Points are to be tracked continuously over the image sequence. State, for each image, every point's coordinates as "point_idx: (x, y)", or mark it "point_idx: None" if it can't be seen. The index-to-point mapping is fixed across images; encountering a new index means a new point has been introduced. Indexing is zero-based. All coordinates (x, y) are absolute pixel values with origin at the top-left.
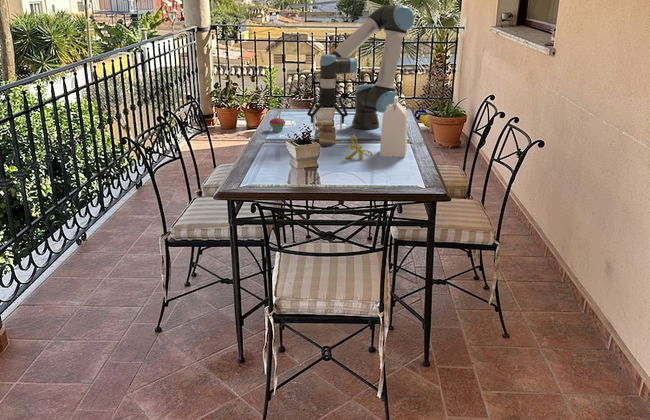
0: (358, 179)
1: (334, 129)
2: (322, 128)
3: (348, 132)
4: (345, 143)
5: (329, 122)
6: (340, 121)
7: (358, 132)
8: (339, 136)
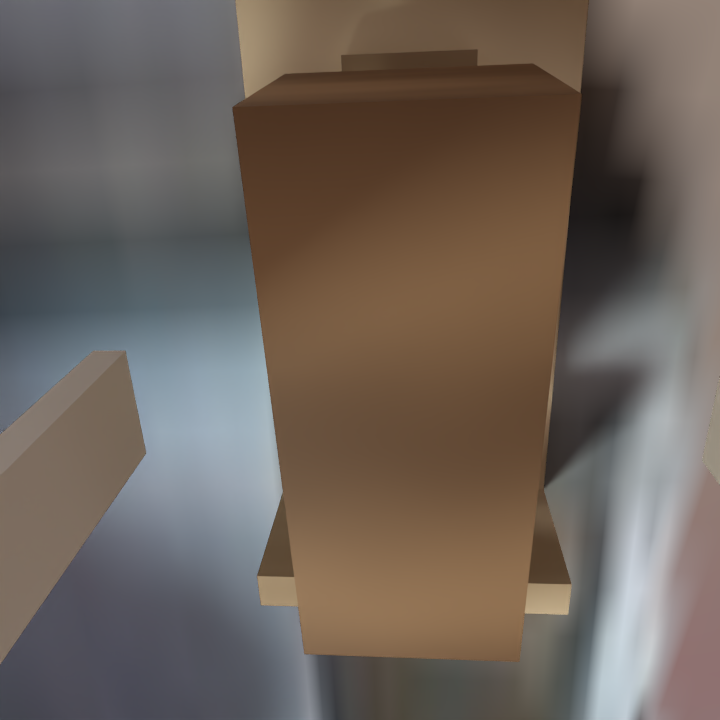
0: None
1: (281, 549)
2: None
3: (137, 682)
4: (52, 15)
5: (359, 571)
6: (8, 462)
7: (13, 680)
8: (229, 496)
